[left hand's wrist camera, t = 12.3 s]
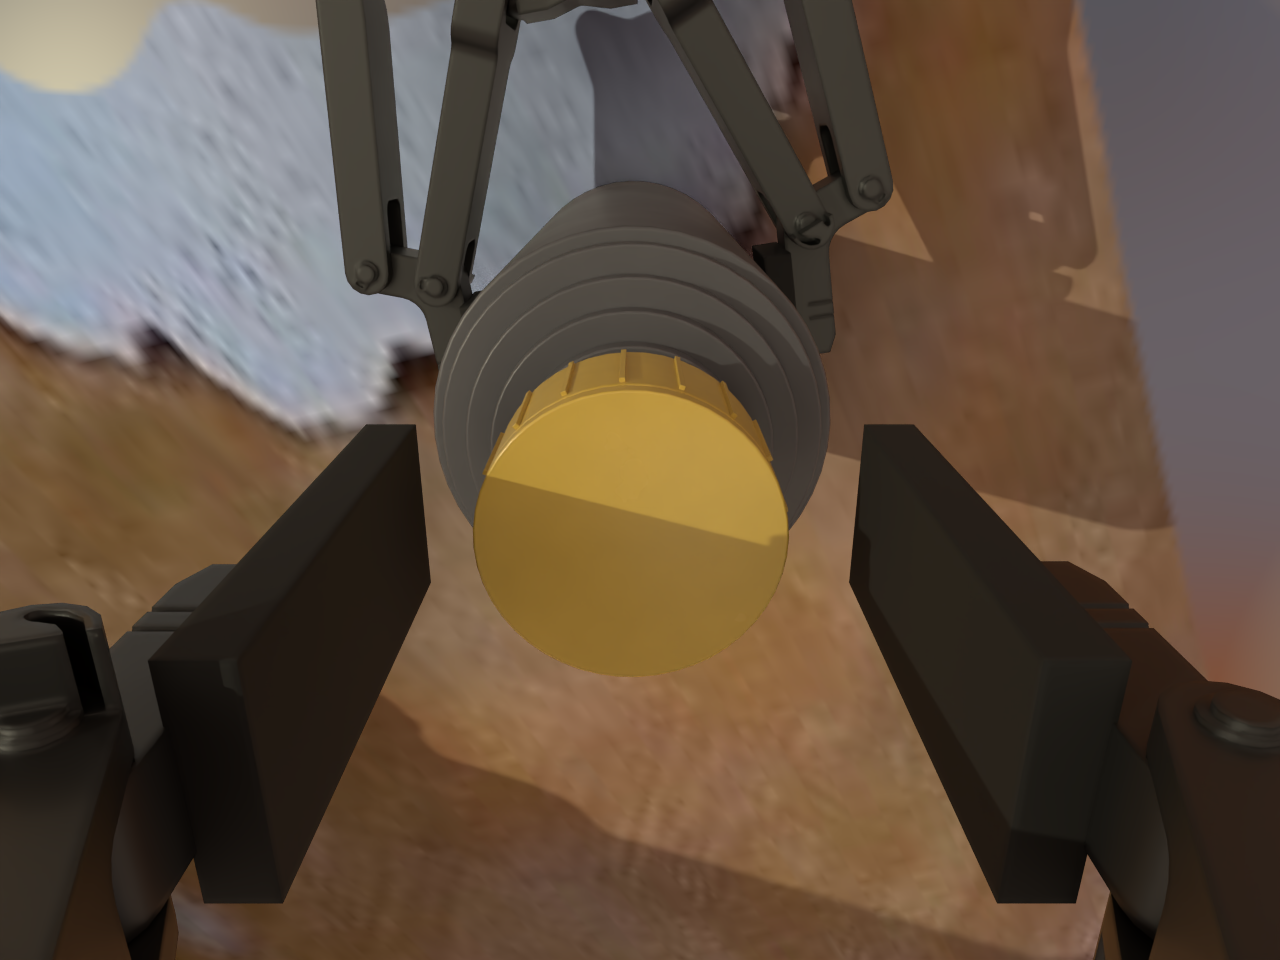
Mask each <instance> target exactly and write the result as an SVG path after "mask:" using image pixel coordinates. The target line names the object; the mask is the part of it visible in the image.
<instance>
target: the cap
mask: <svg viewBox="0 0 1280 960" xmlns="http://www.w3.org/2000/svg"><path fill="white" fill-rule="evenodd" d="M772 460H773V458H772V455H771V453H770V451H769V448H768V446H767V444H766V441H765V439H764V436H763V434H762V432H761V429H760V427H759V425H758V422H757V420H754V421H752V419H751V417H750V416H749V414H748V413H747V411H746V410H745V409H744V407H743V406H742V404H741V403H740V402H739V401H738V400H737V398H736V397H735V396H734V395H733V394H732V393H731V392H730V391H729V390H728V387H727V385H726V383H725V382H724V381H722V382H721V383H720V382H718V381H717V380H716V379H715V378H713V377H712V376H710V375H708V374H707V373H705V372H704V371H702V370H700V369H699V368H696V367H694V366H692V365H690V364H687V363H685V362H683V361H681V360H680V357H678V356H675V358H670V357H667V356H663V355H657V354H651V353H642V352H626V349H622V350H621V353H611V354H605V355H601V356H596V357H592V358H588V359H586V360H583V361H580V362H578V363H574V361H572V362H570V363H569V364H568V367H567V368H565V369H563V370H561V371H559V372H557V373H555V374H554V375H553V376H551V377H550V378H548V379H547V380H546V381H544V382H543V383H542V384H540V385H539V386H538V387H537V388H536V389H535V390H534V391H533V392H531V391H530V390H529V391H528V392H527V393H526V395H525V397H524V400H523V402H522V404H521V406H520V407H519V408H518V409H517V411H516V412H515V414H514V416H513V417H512V419H511V421H510V423H509V424H508V426H507V429H506V431H505V433H502V432H501V433H500V435H499V437H498V439H497V442H496V444H495V446H494V448H493V451H492V453H491V455H490V457H489V459H488V462H487V464H486V466H485V468H484V471H483V473H482V474H483V475H486V477H485V480H484V482H483V484H482V487H481V489H480V492H479V496H478V500H477V503H476V507H475V513H474V523H473V544H474V552H475V558H476V563H477V567H478V570H479V573H480V576H481V579H482V582H483V585H484V587H485V589H486V591H487V593H488V595H489V597H490V599H491V601H492V602H493V604H494V605H495V607H496V608H497V610H498V611H499V613H500V614H501V615H502V617H503V618H504V619H505V620H506V621H507V622H508V624H509V625H510V626H511V627H512V628H513V629H514V630H515V631H516V632H517V633H518V634H519V635H520V636H521V637H523V638H524V639H525V640H526V641H527V642H528V643H530V644H531V645H533V646H534V647H535V648H537V649H538V650H540V651H541V652H543V653H544V654H546V655H548V656H550V657H552V658H554V659H556V660H558V661H560V662H562V663H564V664H567V665H570V666H572V667H575V668H577V669H580V670H584V671H588V672H592V673H596V674H602V675H609V676H617V677H643V676H654V675H660V674H665V673H670V672H675V671H678V670H681V669H684V668H687V667H690V666H693V665H696V664H698V663H700V662H702V661H704V660H706V659H709V658H711V657H712V656H714V655H716V654H717V653H719V652H721V651H722V650H724V649H726V648H727V647H728V646H730V645H731V644H732V643H733V642H735V641H736V640H737V639H738V638H740V637H741V636H742V635H743V634H744V633H745V632H746V631H747V630H748V629H749V628H750V627H751V626H752V625H753V624H754V623H755V622H756V620H757V619H758V618H759V616H760V615H761V614H762V612H763V611H764V610H765V609H766V607H767V605H768V604H769V602H770V600H771V598H772V597H773V595H774V593H775V591H776V589H777V586H778V584H779V581H780V579H781V576H782V574H783V570H784V566H785V562H786V558H787V551H788V541H789V528H788V515H787V512H788V507H787V504H786V502H785V499H784V497H783V494H782V491H781V488H780V485H779V482H778V480H777V477H776V475H775V472H774V470H773V467H772V465H771V462H770V461H772Z"/></svg>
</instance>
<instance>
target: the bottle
mask: <svg viewBox="0 0 1280 960" xmlns="http://www.w3.org/2000/svg"><path fill="white" fill-rule="evenodd" d="M622 349H626V352H642V353H651V354H657V355H663V356H667V357H670V358H675V356H678V357H680V360H681V361H683V362H685V363H687V364H690V365H692V366H694V367H696V368H699V369H700V370H702V371H704V372H705V373H707V374H708V375H710V376H712V377H713V378H715V379H716V380H717V381H718V382H720V383H721V382H722V381H724V382H725V383H726V385H727V387H728V390H729V391H730V392H731V393H732V394H733V395H734V396H735V397H736V398H737V400H738V401H739V402H740V403H741V404H742V406H743V407H744V409H745V410H746V411H747V413H748V414H749V416H750V417H751V419H752V421H754V420H757V422H758V425H759V427H760V429H761V432H762V434H763V436H764V439H765V441H766V444H767V446H768V448H769V451H770V453H771V455H772V458H773V460H772V461H770V462H771V465H772V467H773V470H774V472H775V475H776V477H777V480H778V482H779V485H780V488H781V491H782V494H783V497H784V499H785V502H786V504H787V507H788V512H787V515H788V528H789V530H790V529H791V527H792V526H793V525H794V523H795V522H796V520H797V519H798V518H799V516H800V515H801V513H802V512H803V510H804V508H805V506H806V504H807V503H808V501H809V499H810V497H811V496H812V494H813V491H814V489H815V486H816V484H817V481H818V479H819V476H820V474H821V471H822V467H823V463H824V459H825V455H826V451H827V447H828V438H829V429H830V398H829V392H828V385H827V379H826V373H825V370H824V367H823V364H822V360H821V357H820V354H819V351H818V348H817V346H816V344H815V342H814V340H813V338H812V335H811V333H810V331H809V329H808V327H807V325H806V323H805V322H804V320H803V319H802V317H801V316H800V314H799V313H798V311H797V310H796V308H795V307H794V305H793V304H792V303H791V301H790V300H789V299H788V298H787V297H786V296H785V295H784V293H783V292H782V291H781V290H780V289H779V288H778V287H777V285H776V284H775V283H774V282H773V281H772V280H771V279H770V278H769V277H768V276H767V274H766V273H765V272H764V271H763V270H762V269H761V268H760V267H759V266H758V265H757V264H756V262H755V261H754V260H753V259H752V258H751V257H750V256H749V255H748V254H747V253H746V252H745V250H744V249H743V248H742V247H741V246H740V245H739V244H738V243H737V242H736V241H735V240H734V238H733V237H732V236H731V235H730V234H729V233H728V232H727V231H726V230H725V229H724V228H723V226H722V225H721V224H720V223H719V222H718V221H717V220H716V219H715V218H714V217H713V216H712V214H711V213H710V212H708V211H707V210H706V209H705V208H704V207H703V206H702V205H700V204H699V203H698V202H696V201H695V200H693V199H692V198H690V197H689V196H687V195H686V194H683V193H681V192H679V191H677V190H675V189H673V188H670V187H667V186H664V185H660V184H656V183H650V182H644V181H625V182H616V183H611V184H607V185H603V186H599V187H597V188H595V189H592V190H590V191H587V192H585V193H583V194H582V195H580V196H578V197H576V198H575V199H573V200H572V201H570V202H569V203H568V204H567V205H565V206H564V207H563V208H562V209H561V210H560V211H559V212H558V213H557V214H556V215H555V216H554V217H553V218H552V219H551V220H550V221H549V222H548V223H547V224H546V225H545V226H544V227H543V228H542V229H541V230H540V231H539V232H538V233H537V234H536V235H535V236H534V237H533V238H532V239H531V240H530V241H529V243H528V244H527V245H526V246H525V247H524V248H523V249H522V250H521V251H520V252H519V253H518V254H517V255H516V256H515V257H514V258H513V259H512V260H511V261H510V262H509V263H508V264H507V265H506V266H505V267H504V268H503V270H502V271H501V272H500V273H499V274H498V275H497V276H496V277H495V278H494V279H493V280H492V281H491V282H490V283H489V284H488V285H487V286H486V287H485V288H484V289H483V290H482V291H481V292H480V293H479V295H478V296H477V297H476V299H475V300H474V301H473V303H472V304H471V305H470V307H469V308H468V309H467V311H466V312H465V313H464V315H463V316H462V318H461V320H460V322H459V323H458V325H457V327H456V329H455V331H454V333H453V334H452V336H451V338H450V341H449V343H448V346H447V348H446V351H445V354H444V356H443V359H442V362H441V366H440V370H439V375H438V379H437V383H436V389H435V401H434V428H435V440H436V445H437V450H438V455H439V460H440V464H441V466H442V469H443V472H444V475H445V478H446V481H447V484H448V486H449V488H450V490H451V492H452V494H453V496H454V498H455V501H456V503H457V505H458V506H459V508H460V509H461V511H462V512H463V514H464V515H465V517H466V518H467V520H468V521H469V523H470V524H471V526H472V527H473V523H474V513H475V507H476V503H477V500H478V496H479V492H480V489H481V487H482V484H483V482H484V480H485V477H486V475H483V474H482V473H483V471H484V468H485V466H486V464H487V462H488V459H489V457H490V455H491V453H492V451H493V448H494V446H495V444H496V442H497V439H498V437H499V435H500V433H501V432H502V433H505V431H506V429H507V426H508V424H509V423H510V421H511V419H512V417H513V416H514V414H515V412H516V411H517V409H518V408H519V407H520V406H521V404H522V402H523V400H524V397H525V395H526V393H527V392H528V391H529V390H530V391H531V392H533V391H534V390H535V389H536V388H537V387H538V386H539V385H540V384H542V383H543V382H544V381H546V380H547V379H548V378H550V377H551V376H553V375H554V374H555V373H557V372H559V371H561V370H563V369H565V368H567V367H568V364H569V363H570V362H572V361H574V363H578V362H580V361H583V360H586V359H588V358H592V357H596V356H601V355H605V354H611V353H621V350H622Z"/></svg>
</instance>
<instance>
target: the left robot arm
mask: <svg viewBox="0 0 1280 960" xmlns="http://www.w3.org/2000/svg"><path fill="white" fill-rule="evenodd" d="M430 583H431V579H430V569H429V558H428V548H427V537H426V527H425V517H424V506H423V496H422V485H421V475H420V464H419V454H418V443H417V433H416V425H365V427H364V428H363V429H362V430H361V431H360V432H359V433H358V434H357V435H356V436H355V437H354V438H353V439H352V441H351V442H350V443H349V444H348V445H347V446H346V447H345V448H344V449H343V450H342V451H341V452H340V454H339V455H338V456H337V457H336V458H335V459H334V460H333V461H332V462H331V463H330V464H329V465H328V466H327V468H326V469H325V470H324V471H323V472H322V473H321V474H320V475H319V476H318V477H317V478H316V479H315V480H314V482H313V483H312V484H311V485H310V486H309V487H308V488H307V489H306V490H305V491H304V492H303V493H302V495H301V496H300V497H299V498H298V499H297V500H296V501H295V502H294V503H293V504H292V505H291V506H290V507H289V509H288V510H287V511H286V512H285V513H284V514H283V515H282V516H281V517H280V518H279V519H278V520H277V522H276V523H275V524H274V525H273V526H272V527H271V528H270V529H269V530H268V531H267V532H266V533H265V534H264V536H263V537H262V538H261V539H260V540H259V541H258V542H257V543H256V544H255V545H254V546H253V547H252V548H251V550H250V551H249V552H248V553H247V554H246V555H245V556H244V557H243V558H242V559H241V560H240V561H239V563H238V564H212V565H210V566H209V567H207V568H205V569H203V570H201V571H199V572H197V573H196V574H194V575H192V576H190V577H188V578H186V579H184V580H182V581H181V582H179V583H177V584H175V585H174V586H173V587H172V588H171V589H170V590H169V591H168V592H167V593H166V594H165V595H164V596H163V597H162V598H161V599H160V600H159V601H158V602H157V603H156V604H155V605H154V606H153V607H152V612H147V613H146V614H145V615H144V616H143V617H142V618H141V619H140V620H139V621H138V622H136V623H135V624H134V625H133V626H132V632H126V633H125V634H124V635H123V636H122V637H121V638H120V639H119V640H118V641H117V642H116V643H115V644H114V645H113V646H112V647H111V648H110V649H109V646H108V642H107V638H106V634H105V630H104V626H103V622H102V618H101V615H100V614H98V613H97V612H95V611H94V610H92V609H90V608H89V607H87V606H81V605H74V604H67V603H55V604H41V605H30V606H25V607H21V608H16V609H11V610H7V611H2V612H0V960H175V955H176V948H177V941H178V926H177V920H176V914H175V910H174V906H173V902H172V898H171V893H172V892H173V890H174V888H175V887H176V885H177V883H178V882H179V880H180V878H181V877H182V875H183V874H184V872H185V870H186V869H187V867H188V865H189V864H190V862H191V861H192V859H193V858H194V862H195V866H196V870H197V875H198V879H199V883H200V888H201V892H202V896H203V900H204V903H283V902H284V900H285V898H286V895H287V893H288V891H289V889H290V887H291V884H292V882H293V880H294V878H295V876H296V874H297V871H298V869H299V867H300V865H301V863H302V861H303V858H304V856H305V854H306V852H307V850H308V848H309V845H310V843H311V841H312V839H313V837H314V835H315V832H316V830H317V828H318V826H319V824H320V822H321V819H322V817H323V815H324V813H325V811H326V809H327V806H328V804H329V802H330V800H331V798H332V796H333V793H334V791H335V789H336V787H337V785H338V783H339V780H340V778H341V776H342V774H343V772H344V770H345V767H346V765H347V763H348V761H349V759H350V757H351V754H352V752H353V750H354V748H355V746H356V744H357V741H358V739H359V737H360V735H361V733H362V731H363V728H364V726H365V724H366V722H367V720H368V718H369V715H370V713H371V711H372V709H373V707H374V705H375V702H376V700H377V698H378V696H379V694H380V692H381V689H382V687H383V685H384V683H385V681H386V679H387V676H388V674H389V672H390V670H391V668H392V666H393V663H394V661H395V659H396V657H397V655H398V653H399V650H400V648H401V646H402V644H403V642H404V640H405V637H406V635H407V633H408V631H409V629H410V627H411V624H412V622H413V620H414V618H415V616H416V614H417V611H418V609H419V607H420V605H421V603H422V601H423V598H424V596H425V594H426V592H427V590H428V588H429V585H430ZM849 583H850V585H851V588H852V590H853V592H854V594H855V596H856V598H857V601H858V603H859V605H860V607H861V609H862V611H863V614H864V616H865V618H866V620H867V622H868V624H869V627H870V629H871V631H872V633H873V635H874V637H875V640H876V642H877V644H878V646H879V648H880V650H881V653H882V655H883V657H884V659H885V661H886V663H887V666H888V668H889V670H890V672H891V674H892V676H893V679H894V681H895V683H896V685H897V687H898V689H899V692H900V694H901V696H902V698H903V700H904V702H905V705H906V707H907V709H908V711H909V713H910V715H911V718H912V720H913V722H914V724H915V726H916V728H917V731H918V733H919V735H920V737H921V739H922V741H923V744H924V746H925V748H926V750H927V752H928V754H929V757H930V759H931V761H932V763H933V765H934V767H935V770H936V772H937V774H938V776H939V778H940V780H941V783H942V785H943V787H944V789H945V791H946V793H947V796H948V798H949V800H950V802H951V804H952V806H953V809H954V811H955V813H956V815H957V817H958V819H959V822H960V824H961V826H962V828H963V830H964V832H965V835H966V837H967V839H968V841H969V843H970V845H971V848H972V850H973V852H974V854H975V856H976V858H977V861H978V863H979V865H980V867H981V869H982V871H983V874H984V876H985V878H986V880H987V882H988V884H989V887H990V889H991V891H992V893H993V895H994V898H995V900H996V902H997V903H1076V900H1077V896H1078V892H1079V888H1080V883H1081V879H1082V875H1083V870H1084V866H1085V862H1086V858H1087V854H1088V856H1089V857H1090V859H1091V861H1092V862H1093V864H1094V866H1095V867H1096V869H1097V870H1098V872H1099V874H1100V875H1101V877H1102V879H1103V880H1104V882H1105V883H1106V885H1107V887H1108V888H1109V890H1110V894H1109V898H1108V902H1107V906H1106V910H1105V914H1104V918H1103V922H1102V926H1101V930H1100V934H1099V938H1098V942H1097V946H1096V950H1095V954H1094V958H1093V960H1280V700H1279V699H1277V698H1274V697H1272V696H1270V695H1267V694H1265V693H1263V692H1260V691H1257V690H1253V689H1249V688H1245V687H1241V686H1237V685H1233V684H1229V683H1223V682H1211V681H1207V680H1206V679H1205V678H1204V677H1203V676H1202V675H1201V674H1200V673H1199V672H1198V671H1197V670H1196V669H1195V668H1194V667H1193V666H1192V665H1191V664H1190V663H1189V662H1188V661H1187V660H1186V659H1185V658H1184V657H1183V656H1182V655H1181V654H1180V653H1179V652H1178V651H1177V650H1175V649H1174V648H1173V647H1172V646H1171V645H1170V644H1169V643H1168V642H1167V641H1166V640H1165V639H1164V638H1163V637H1162V636H1161V635H1160V634H1159V633H1158V632H1157V631H1156V630H1155V629H1154V628H1149V626H1148V622H1147V621H1146V620H1145V619H1144V618H1143V617H1142V616H1140V615H1139V614H1138V613H1137V612H1136V611H1135V610H1134V609H1129V604H1128V603H1127V602H1126V601H1125V600H1124V599H1123V598H1122V597H1121V596H1120V595H1119V594H1118V593H1117V592H1116V591H1115V590H1114V589H1113V588H1112V587H1111V586H1110V585H1109V584H1108V583H1107V582H1106V581H1104V580H1102V579H1100V578H1098V577H1096V576H1095V575H1093V574H1091V573H1089V572H1087V571H1085V570H1083V569H1081V568H1080V567H1078V566H1076V565H1074V564H1072V563H1070V562H1068V561H1040V560H1039V559H1038V558H1037V557H1036V556H1035V555H1034V554H1033V553H1032V552H1031V551H1030V550H1029V548H1028V547H1027V546H1026V545H1025V544H1024V543H1023V542H1022V541H1021V540H1020V539H1019V538H1018V537H1017V536H1016V534H1015V533H1014V532H1013V531H1012V530H1011V529H1010V528H1009V527H1008V526H1007V525H1006V524H1005V523H1004V522H1003V520H1002V519H1001V518H1000V517H999V516H998V515H997V514H996V513H995V512H994V511H993V510H992V509H991V507H990V506H989V505H988V504H987V503H986V502H985V501H984V500H983V499H982V498H981V497H980V496H979V495H978V493H977V492H976V491H975V490H974V489H973V488H972V487H971V486H970V485H969V484H968V483H967V482H966V480H965V479H964V478H963V477H962V476H961V475H960V474H959V473H958V472H957V471H956V470H955V469H954V468H953V466H952V465H951V464H950V463H949V462H948V461H947V460H946V459H945V458H944V457H943V456H942V455H941V454H940V452H939V451H938V450H937V449H936V448H935V447H934V446H933V445H932V444H931V443H930V442H929V441H928V439H927V438H926V437H925V436H924V435H923V434H922V433H921V432H920V431H919V430H918V429H917V428H916V427H915V425H864V433H863V443H862V454H861V464H860V475H859V485H858V496H857V506H856V517H855V527H854V537H853V548H852V558H851V569H850V579H849Z"/></svg>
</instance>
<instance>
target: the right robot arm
mask: <svg viewBox="0 0 1280 960" xmlns="http://www.w3.org/2000/svg"><path fill="white" fill-rule="evenodd" d="M646 2H647V4H648V5H649V7H650V9H651V11H652V12H653V14H654V16H655V18H656V19H657V21H658V23H659V25H660V26H661V28H662V29H663V31H664V32H665V34H666V35H667V36H668V38H669V40H670V41H671V43H672V45H673V47H674V48H675V50H676V52H677V54H678V56H679V57H680V59H681V61H682V63H683V64H684V66H685V68H686V70H687V71H688V73H689V75H690V77H691V79H692V80H693V82H694V84H695V86H696V87H697V89H698V91H699V93H700V94H701V96H702V98H703V100H704V101H705V103H706V105H707V107H708V109H709V110H710V112H711V114H712V116H713V117H714V119H715V121H716V123H717V124H718V126H719V128H720V130H721V132H722V133H723V135H724V137H725V139H726V140H727V142H728V144H729V146H730V147H731V149H732V151H733V153H734V155H735V156H736V158H737V160H738V162H739V163H740V165H741V167H742V169H743V170H744V172H745V174H746V176H747V177H748V179H749V181H750V183H751V185H752V186H753V188H754V190H755V192H756V193H757V195H758V197H759V199H760V200H761V202H762V204H763V206H764V208H765V209H766V211H767V213H768V215H769V216H770V218H771V220H772V222H773V223H774V225H775V227H776V228H777V238H778V243H777V242H773V243H767V244H761V245H755V246H752V250H753V259H754V261H755V262H756V264H757V265H758V266H759V267H760V268H761V269H762V270H763V271H764V272H765V273H766V274H767V276H768V277H769V278H770V279H771V280H772V281H773V282H774V283H775V284H776V285H777V287H778V288H779V289H780V290H781V291H782V292H783V293H784V295H785V296H786V297H787V298H788V299H789V300H790V301H791V303H792V304H793V305H794V307H795V308H796V310H797V311H798V313H799V314H800V316H801V317H802V319H803V320H804V322H805V323H806V325H807V327H808V329H809V331H810V333H811V335H812V338H813V340H814V342H815V344H816V346H817V348H818V351H819V354H820V353H827V352H830V351H831V347H832V344H833V341H834V338H835V323H834V314H833V313H834V311H833V302H832V287H831V275H830V263H829V246H830V242H831V239H832V238H833V236H834V234H835V233H836V232H837V230H838V229H839V228H841V227H842V226H843V225H845V224H846V223H848V222H850V221H852V220H854V219H855V218H857V217H859V216H861V215H863V214H864V213H866V212H869V211H876V210H878V209H880V208H882V207H883V206H885V204H886V203H887V202H888V201H889V200H890V198H891V195H892V192H893V180H892V175H891V171H890V166H889V162H888V158H887V153H886V149H885V144H884V140H883V136H882V131H881V127H880V122H879V118H878V114H877V109H876V105H875V101H874V96H873V92H872V87H871V83H870V79H869V74H868V70H867V65H866V61H865V57H864V52H863V48H862V43H861V39H860V35H859V30H858V26H857V21H856V17H855V13H854V8H853V4H852V0H784V4H785V8H786V12H787V15H788V19H789V23H790V27H791V31H792V35H793V39H794V43H795V47H796V51H797V55H798V59H799V63H800V67H801V71H802V75H803V79H804V83H805V87H806V91H807V95H808V99H809V103H810V107H811V111H812V115H813V119H814V123H815V127H816V131H817V135H818V138H819V142H820V146H821V150H822V154H823V158H824V162H825V166H826V170H827V174H828V177H826V178H824V179H822V180H821V181H819V182H817V183H815V184H814V185H812V183H811V182H810V180H809V178H808V176H807V174H806V172H805V171H804V169H803V167H802V165H801V163H800V161H799V159H798V158H797V156H796V154H795V152H794V150H793V148H792V147H791V145H790V143H789V141H788V139H787V137H786V136H785V134H784V132H783V130H782V128H781V126H780V124H779V123H778V121H777V119H776V117H775V115H774V113H773V112H772V110H771V108H770V106H769V104H768V102H767V100H766V99H765V97H764V95H763V93H762V91H761V89H760V88H759V86H758V84H757V82H756V80H755V78H754V77H753V75H752V73H751V71H750V69H749V67H748V65H747V64H746V62H745V60H744V58H743V56H742V54H741V53H740V51H739V49H738V47H737V45H736V43H735V41H734V40H733V38H732V36H731V34H730V32H729V30H728V29H727V27H726V25H725V23H724V21H723V19H722V18H721V16H720V14H719V12H718V10H717V8H716V6H715V5H714V3H713V1H712V0H646ZM633 4H638V0H455V3H454V9H453V16H452V23H451V42H452V44H451V54H450V60H449V66H448V73H447V79H446V85H445V91H444V97H443V104H442V110H441V116H440V122H439V129H438V135H437V141H436V147H435V153H434V160H433V166H432V172H431V178H430V185H429V191H428V197H427V203H426V210H425V216H424V222H423V228H422V234H421V241H420V247H419V250H416V249H411V248H407V237H406V225H405V213H404V201H403V188H402V176H401V164H400V152H399V140H398V128H397V116H396V104H395V92H394V80H393V68H392V56H391V44H390V31H389V23H388V16H387V9H386V5H385V1H384V0H316V8H317V17H318V27H319V36H320V45H321V54H322V63H323V73H324V82H325V91H326V100H327V110H328V119H329V128H330V137H331V147H332V156H333V165H334V174H335V183H336V193H337V202H338V211H339V220H340V230H341V239H342V248H343V257H344V266H345V274H346V277H347V281H348V283H349V284H350V285H351V287H352V288H353V289H354V290H356V291H358V292H359V293H361V294H366V295H372V294H377V293H379V294H384V295H390V296H395V297H400V298H404V299H408V300H410V301H412V302H413V303H415V304H416V305H417V306H418V307H419V308H420V309H421V310H422V312H423V313H424V315H425V318H426V321H427V325H428V329H429V333H430V337H431V341H432V345H433V349H434V353H435V357H436V361H437V364H438V369H439V370H440V366H441V362H442V359H443V356H444V354H445V351H446V348H447V346H448V343H449V341H450V338H451V336H452V334H453V333H454V331H455V329H456V327H457V325H458V323H459V322H460V320H461V318H462V316H463V315H464V313H465V312H466V311H467V309H468V308H469V307H470V305H471V304H472V303H473V301H474V300H475V299H476V297H477V296H478V295H479V293H480V292H481V291H477V292H474V293H473V294H472V290H471V286H470V283H471V282H472V281H473V279H474V276H475V275H473V274H472V270H473V264H474V259H475V254H476V248H477V243H478V237H479V232H480V226H481V221H482V215H483V210H484V204H485V199H486V193H487V188H488V183H489V177H490V172H491V166H492V161H493V155H494V150H495V144H496V139H497V133H498V128H499V122H500V117H501V112H502V106H503V101H504V95H505V90H506V84H507V79H508V73H509V68H510V64H511V61H512V59H513V56H514V52H515V48H516V43H517V38H518V32H519V27H520V22H521V20H524V21H525V22H526V23H527V24H529V23H534V22H540V21H545V20H551V19H555V18H557V17H559V16H561V15H563V14H565V13H567V12H569V11H571V10H572V9H574V8H576V7H578V6H591V7H600V8H609V9H611V8H617V7H622V6H628V5H633Z"/></svg>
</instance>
